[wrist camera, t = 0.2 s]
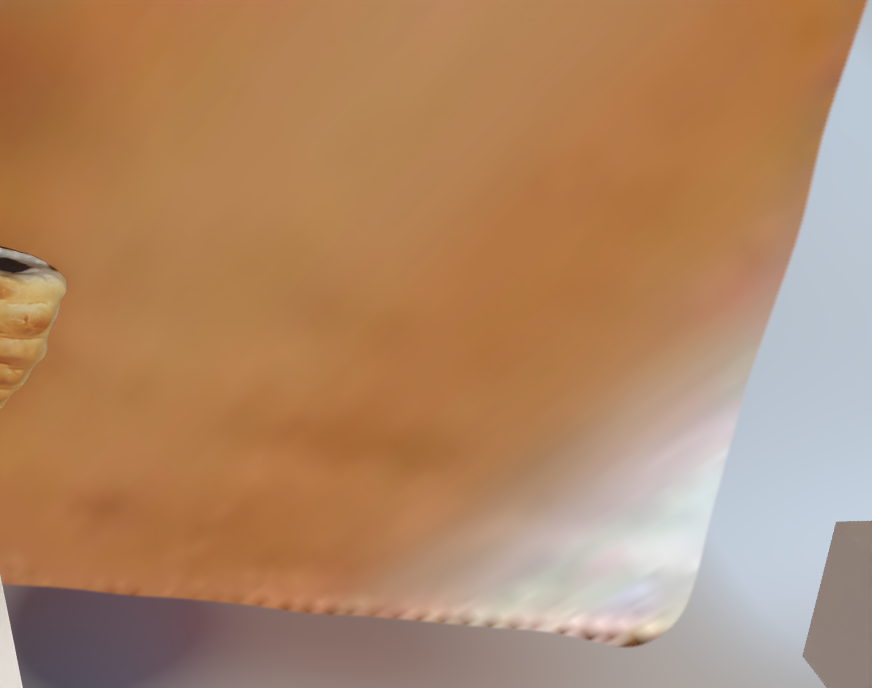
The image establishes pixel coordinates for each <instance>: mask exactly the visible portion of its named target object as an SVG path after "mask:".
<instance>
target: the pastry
mask: <svg viewBox="0 0 872 688" xmlns="http://www.w3.org/2000/svg"><path fill="white" fill-rule="evenodd" d="M65 293H66V280H65V278H64V277H63V275H62V274H61V273H59V272H58V271H57V270H53V269H51V268H50V267H49V265H48V264H47V263H46V262H45V261H43V260H41V259H38V258H36V257H34V256H32V255H30V254H25V253H20V252H17V251H14V250H9V249H3V248H0V409H1V408H2V407H3V406H4V404H5V403H6V402H7V401H8V399H9V398H10V396H11V395H12V394H13V393H14V392H15V391H16V390H18V389H19V388H20V387H22V386H23V384H24V383H25V381H26V380H27V378H28V377H29V375H30V372H31V371H32V369H33V368H34V367H35V365H36V364H37V362H39V361H41V360H42V359H43V358H44V356H45V354H46V352H47V347H48V346H47V337H48V335H49V332H50V329H51V326H52V325H53V323H54V321H55V319H56V317H57V314H58V311H59V304H60V301H61V298H62V297H63V295H64V294H65Z"/></svg>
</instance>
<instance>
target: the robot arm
mask: <svg viewBox="0 0 872 688" xmlns="http://www.w3.org/2000/svg"><path fill="white" fill-rule="evenodd" d="M803 657H804V658H805V660H806V661H807V662H808V664H809V665H810V666H811V667H812V669H813V670H814V672H815V673H816V674H817V675H818V677H819V678H820V679H821V681H822V682H823V683H824V685H825V686H826V687H827V688H872V521H847V522H836V525H835V529H834V533H833V537H832V541H831V545H830V549H829V553H828V557H827V561H826V564H825V569H824V573H823V576H822V581H821V584H820V589H819V592H818V596H817V600H816V604H815V608H814V612H813V616H812V620H811V625H810V628H809V633H808V637H807V640H806V644H805V648H804V652H803ZM0 688H23V687H22V682H21V677H20V672H19V667H18V662H17V658H16V653H15V647H14V642H13V637H12V632H11V627H10V622H9V617H8V612H7V607H6V602H5V597H4V592H3V587H2V582H1V577H0Z"/></svg>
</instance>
